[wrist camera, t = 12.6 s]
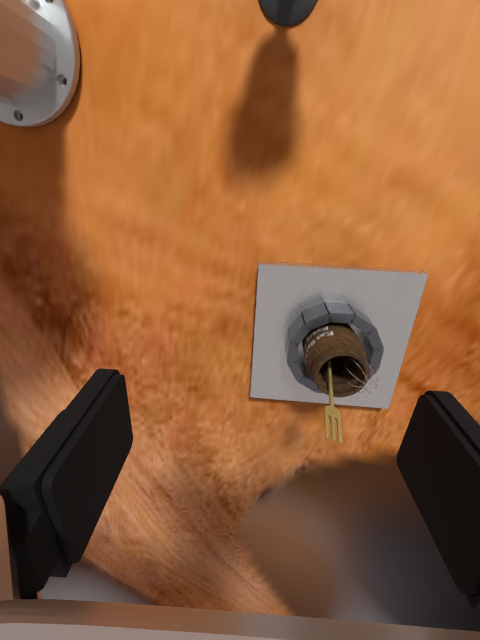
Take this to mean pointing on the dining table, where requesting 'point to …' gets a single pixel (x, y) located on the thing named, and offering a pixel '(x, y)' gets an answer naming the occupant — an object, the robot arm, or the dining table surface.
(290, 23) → the sundae
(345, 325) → the utensil holder
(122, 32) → the dining table surface
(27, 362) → the dining table surface
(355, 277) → the collar stand
